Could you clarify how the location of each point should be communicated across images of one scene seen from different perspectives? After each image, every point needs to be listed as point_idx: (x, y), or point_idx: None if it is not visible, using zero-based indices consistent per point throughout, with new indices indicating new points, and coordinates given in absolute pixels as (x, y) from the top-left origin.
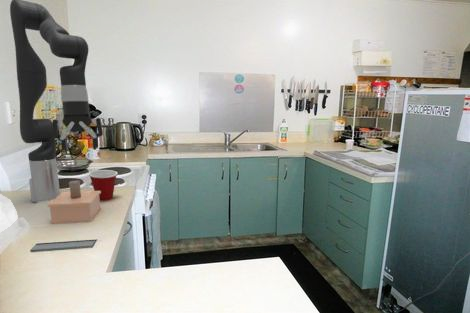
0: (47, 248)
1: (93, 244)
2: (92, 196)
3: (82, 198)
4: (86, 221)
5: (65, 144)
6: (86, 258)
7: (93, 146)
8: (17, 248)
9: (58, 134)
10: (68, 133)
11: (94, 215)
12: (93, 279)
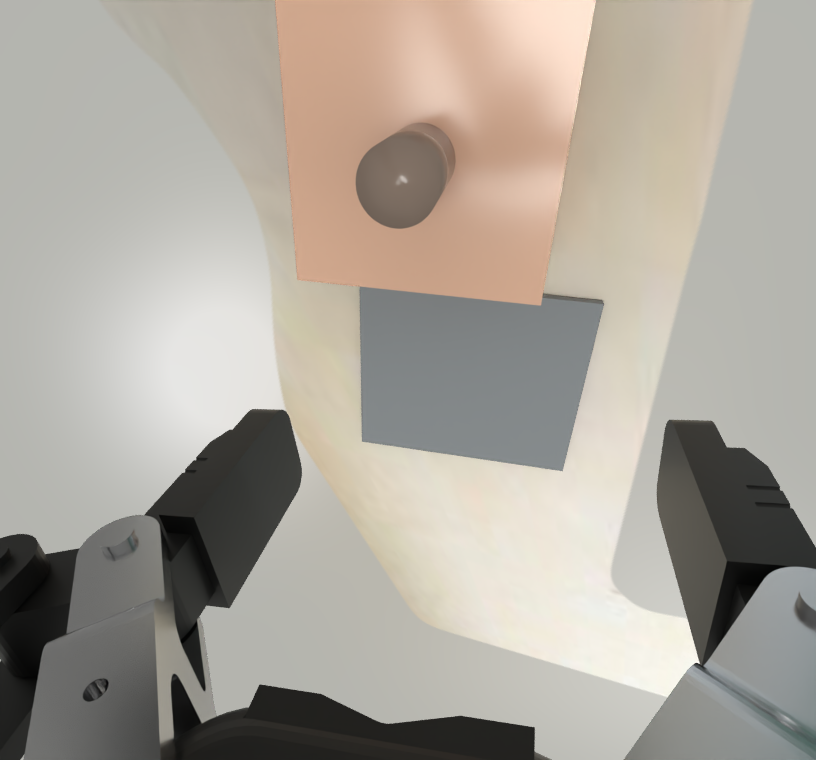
0: (413, 447)
1: (565, 457)
2: (540, 172)
3: (475, 205)
4: None
5: (257, 553)
6: (550, 519)
7: (673, 542)
8: (309, 401)
9: (10, 619)
10: (199, 699)
11: None
12: (580, 604)
